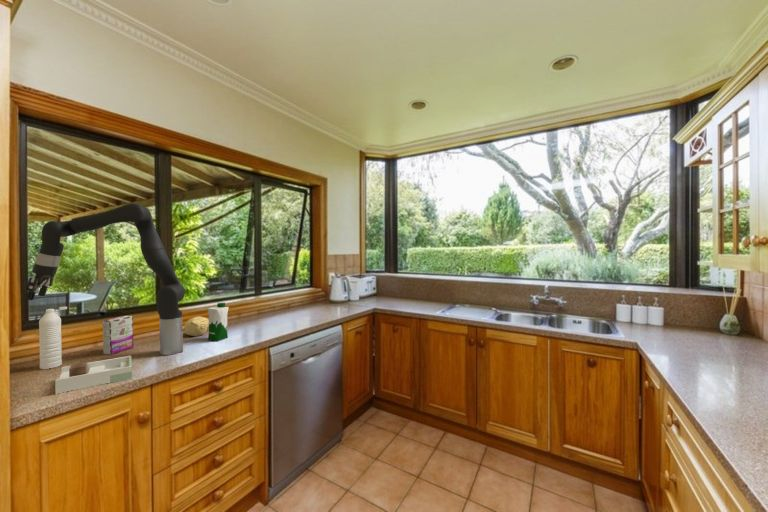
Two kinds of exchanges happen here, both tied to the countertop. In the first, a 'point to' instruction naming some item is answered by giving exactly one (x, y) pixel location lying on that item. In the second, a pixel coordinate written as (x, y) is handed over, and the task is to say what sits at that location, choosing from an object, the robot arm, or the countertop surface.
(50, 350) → the water bottle
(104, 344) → the candy bar box
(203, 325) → the sculpture
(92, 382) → the track
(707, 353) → the countertop surface
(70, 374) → the walnut block
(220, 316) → the milk carton
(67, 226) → the robot arm
